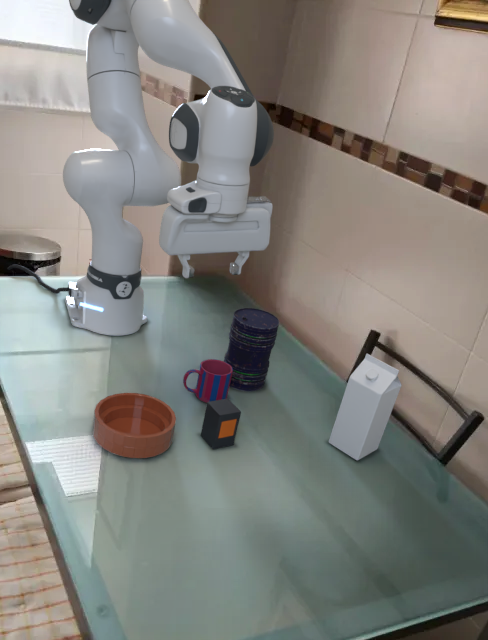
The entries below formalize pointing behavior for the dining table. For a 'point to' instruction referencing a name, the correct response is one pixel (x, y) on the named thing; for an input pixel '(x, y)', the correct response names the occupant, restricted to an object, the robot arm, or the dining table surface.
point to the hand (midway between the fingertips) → (211, 275)
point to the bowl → (133, 425)
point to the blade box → (220, 423)
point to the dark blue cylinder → (250, 347)
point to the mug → (211, 380)
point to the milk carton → (365, 408)
